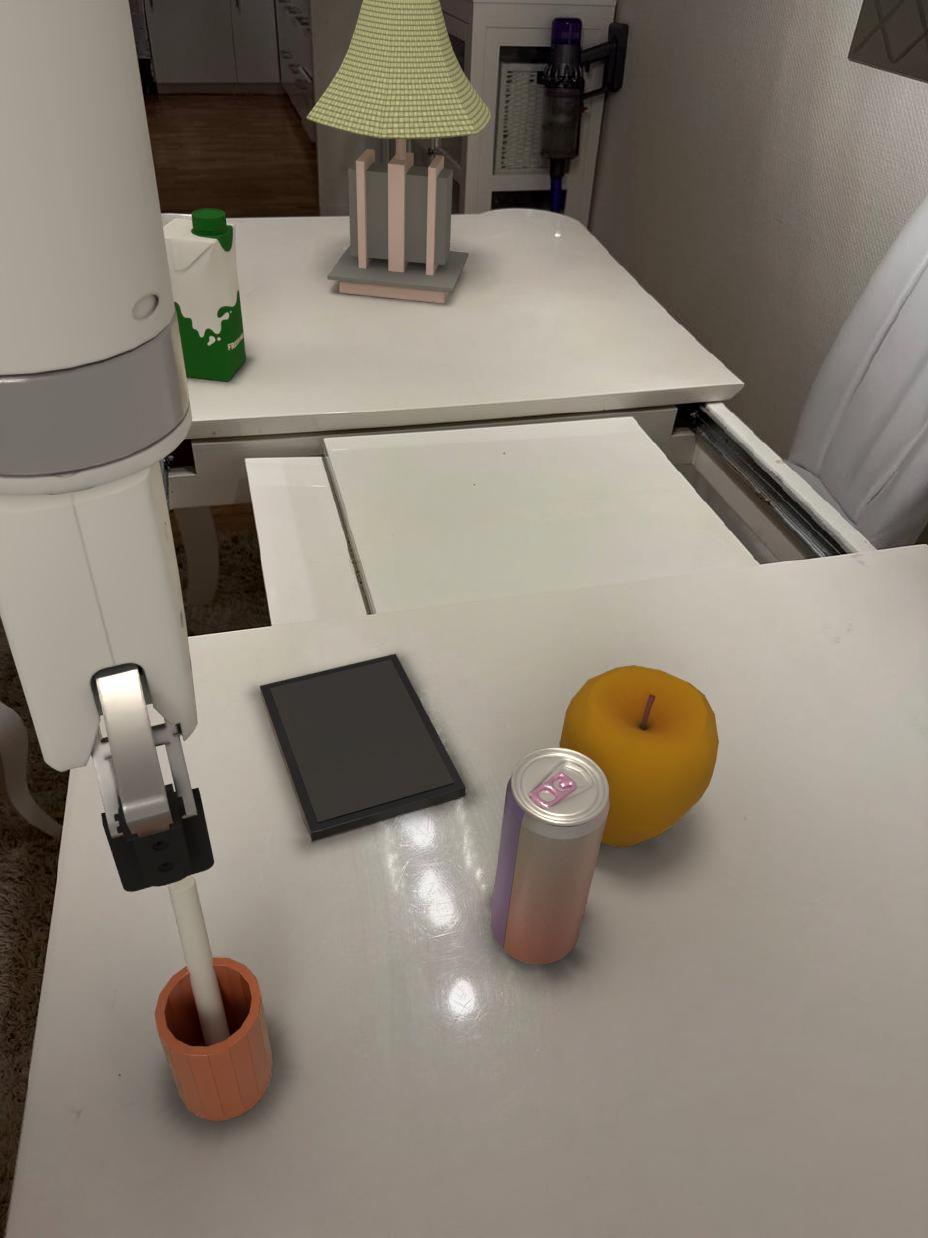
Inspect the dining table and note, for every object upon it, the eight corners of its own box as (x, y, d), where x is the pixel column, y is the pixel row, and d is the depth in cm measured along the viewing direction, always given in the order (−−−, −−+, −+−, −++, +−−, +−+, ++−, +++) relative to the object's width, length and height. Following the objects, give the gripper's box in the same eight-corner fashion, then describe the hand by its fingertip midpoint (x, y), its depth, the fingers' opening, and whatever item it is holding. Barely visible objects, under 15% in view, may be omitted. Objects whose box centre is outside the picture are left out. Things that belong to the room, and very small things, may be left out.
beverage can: (471, 923, 62) (485, 777, 53) (534, 875, 65) (558, 729, 56) (533, 988, 59) (561, 845, 49) (596, 933, 62) (634, 789, 52)
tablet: (311, 841, 67) (310, 832, 66) (260, 694, 78) (259, 684, 77) (465, 796, 71) (466, 786, 70) (395, 661, 82) (395, 652, 81)
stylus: (213, 1080, 53) (168, 894, 48) (210, 1062, 54) (166, 878, 49) (237, 1072, 53) (196, 886, 48) (234, 1054, 54) (193, 871, 49)
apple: (661, 907, 64) (701, 785, 56) (521, 839, 68) (540, 716, 59) (710, 799, 71) (752, 678, 63) (582, 744, 75) (605, 623, 67)
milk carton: (233, 385, 120) (214, 226, 108) (166, 377, 121) (139, 218, 108) (254, 357, 127) (239, 204, 114) (191, 350, 128) (169, 197, 115)
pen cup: (186, 1136, 51) (163, 1072, 46) (171, 1046, 55) (148, 976, 50) (283, 1099, 53) (271, 1033, 48) (261, 1014, 57) (248, 944, 52)
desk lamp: (489, 260, 161) (506, -18, 135) (465, 323, 140) (481, 7, 114) (344, 246, 163) (335, -30, 138) (299, 306, 142) (278, -9, 116)
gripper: (-90, 283, 31) (36, 660, 42) (-118, 586, 19) (69, 1003, 30) (142, 264, 33) (204, 625, 44) (248, 520, 21) (297, 929, 32)
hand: (150, 777), depth 37 cm, fingers open, 9 cm apart
